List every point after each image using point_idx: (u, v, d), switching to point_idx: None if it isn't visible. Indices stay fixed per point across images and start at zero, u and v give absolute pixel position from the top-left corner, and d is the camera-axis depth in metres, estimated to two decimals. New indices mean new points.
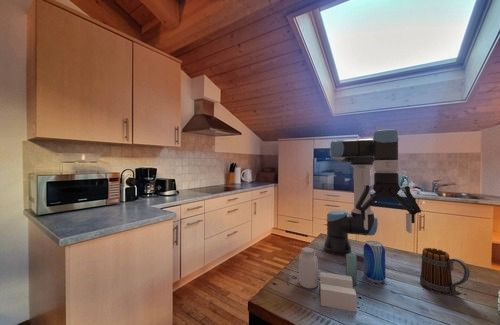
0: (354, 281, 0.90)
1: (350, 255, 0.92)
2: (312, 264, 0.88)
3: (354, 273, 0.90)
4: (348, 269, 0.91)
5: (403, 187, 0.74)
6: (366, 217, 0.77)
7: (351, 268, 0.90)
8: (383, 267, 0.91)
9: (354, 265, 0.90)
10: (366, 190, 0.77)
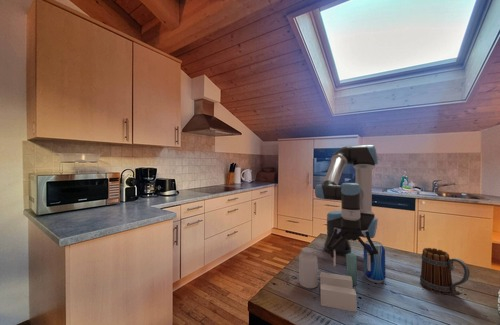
0: (354, 281, 0.90)
1: (350, 255, 0.92)
2: (312, 264, 0.88)
3: (354, 273, 0.90)
4: (348, 269, 0.91)
5: (364, 232, 0.90)
6: (334, 255, 0.92)
7: (351, 268, 0.90)
8: (383, 267, 0.91)
9: (354, 265, 0.90)
10: (334, 233, 0.93)
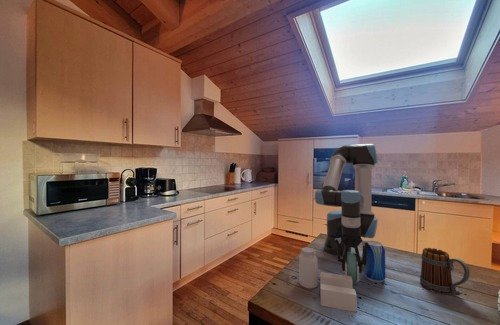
0: (354, 279, 0.90)
1: (350, 253, 0.92)
2: (312, 264, 0.88)
3: (354, 272, 0.90)
4: (348, 268, 0.91)
5: (364, 242, 0.90)
6: (346, 269, 0.91)
7: (351, 267, 0.90)
8: (383, 267, 0.91)
9: (354, 264, 0.90)
10: (337, 244, 0.93)
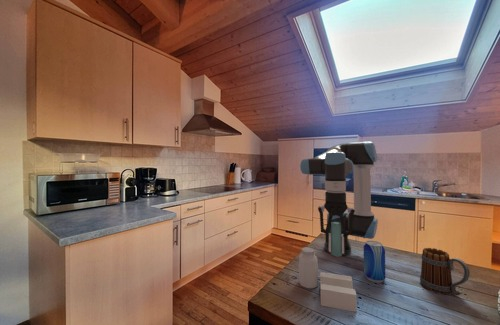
0: (339, 252, 0.80)
1: (335, 223, 0.82)
2: (312, 264, 0.88)
3: (339, 243, 0.80)
4: (332, 238, 0.81)
5: (350, 209, 0.80)
6: (329, 240, 0.81)
7: (335, 237, 0.80)
8: (383, 267, 0.91)
9: (339, 233, 0.80)
10: (320, 212, 0.82)
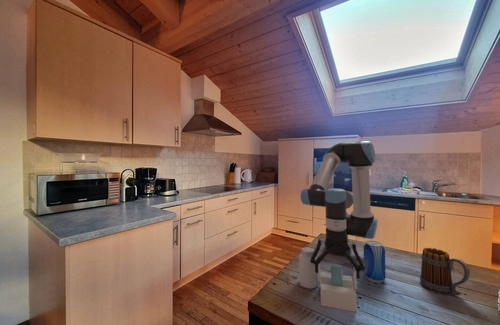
0: None
1: (335, 266, 0.82)
2: (312, 264, 0.88)
3: None
4: (333, 283, 0.81)
5: (351, 244, 0.80)
6: (319, 271, 0.82)
7: (336, 282, 0.80)
8: (383, 267, 0.91)
9: (339, 278, 0.80)
10: (318, 245, 0.83)
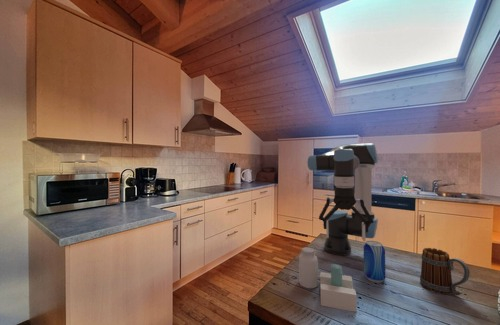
0: None
1: (335, 266, 0.82)
2: (312, 264, 0.88)
3: None
4: (333, 283, 0.81)
5: (358, 200, 0.84)
6: (327, 227, 0.87)
7: (336, 282, 0.80)
8: (383, 267, 0.91)
9: (339, 278, 0.80)
10: (327, 203, 0.87)
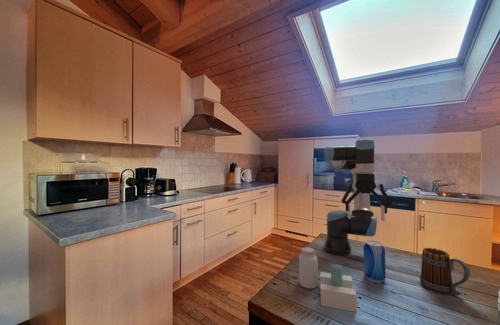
0: None
1: (335, 266, 0.82)
2: (312, 264, 0.88)
3: None
4: (333, 283, 0.81)
5: (378, 185, 0.93)
6: (349, 209, 0.96)
7: (336, 282, 0.80)
8: (383, 267, 0.91)
9: (339, 278, 0.80)
10: (349, 187, 0.96)
